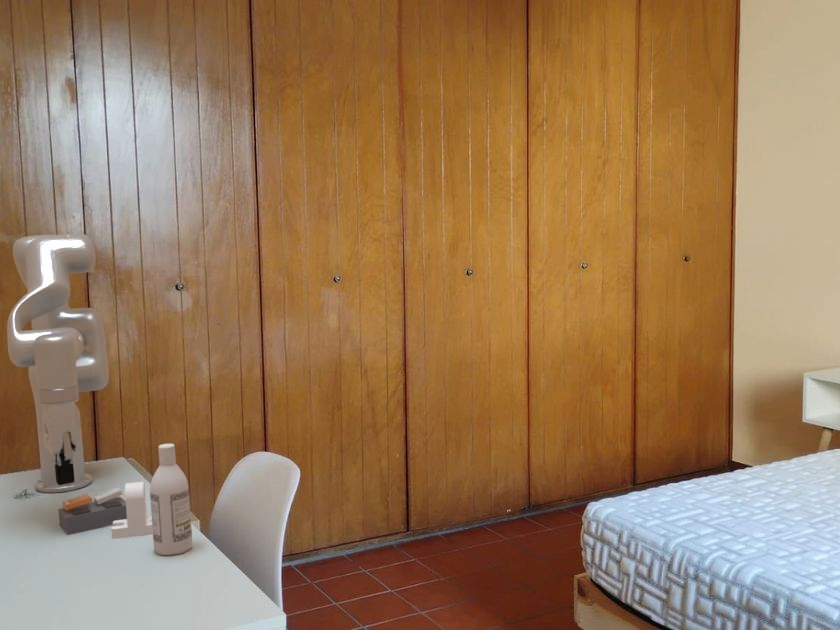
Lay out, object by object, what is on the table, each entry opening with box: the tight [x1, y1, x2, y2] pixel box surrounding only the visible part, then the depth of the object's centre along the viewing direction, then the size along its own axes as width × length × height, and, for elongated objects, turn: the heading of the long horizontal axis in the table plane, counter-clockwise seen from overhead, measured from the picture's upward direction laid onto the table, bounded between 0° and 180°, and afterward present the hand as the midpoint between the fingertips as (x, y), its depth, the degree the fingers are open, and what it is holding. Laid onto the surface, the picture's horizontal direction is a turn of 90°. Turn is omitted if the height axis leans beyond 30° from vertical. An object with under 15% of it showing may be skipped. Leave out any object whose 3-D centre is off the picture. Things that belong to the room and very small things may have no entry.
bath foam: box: [149, 443, 193, 556], centre depth 157 cm, size 7×7×20 cm
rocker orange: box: [61, 493, 93, 510], centre depth 173 cm, size 3×5×1 cm, turn 125°
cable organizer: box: [111, 481, 153, 540], centre depth 168 cm, size 5×10×10 cm, turn 106°
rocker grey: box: [93, 486, 124, 505], centre depth 176 cm, size 3×5×1 cm, turn 125°
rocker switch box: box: [57, 495, 127, 536], centre depth 175 cm, size 10×12×4 cm
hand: (65, 482), depth 172 cm, fingers closed
